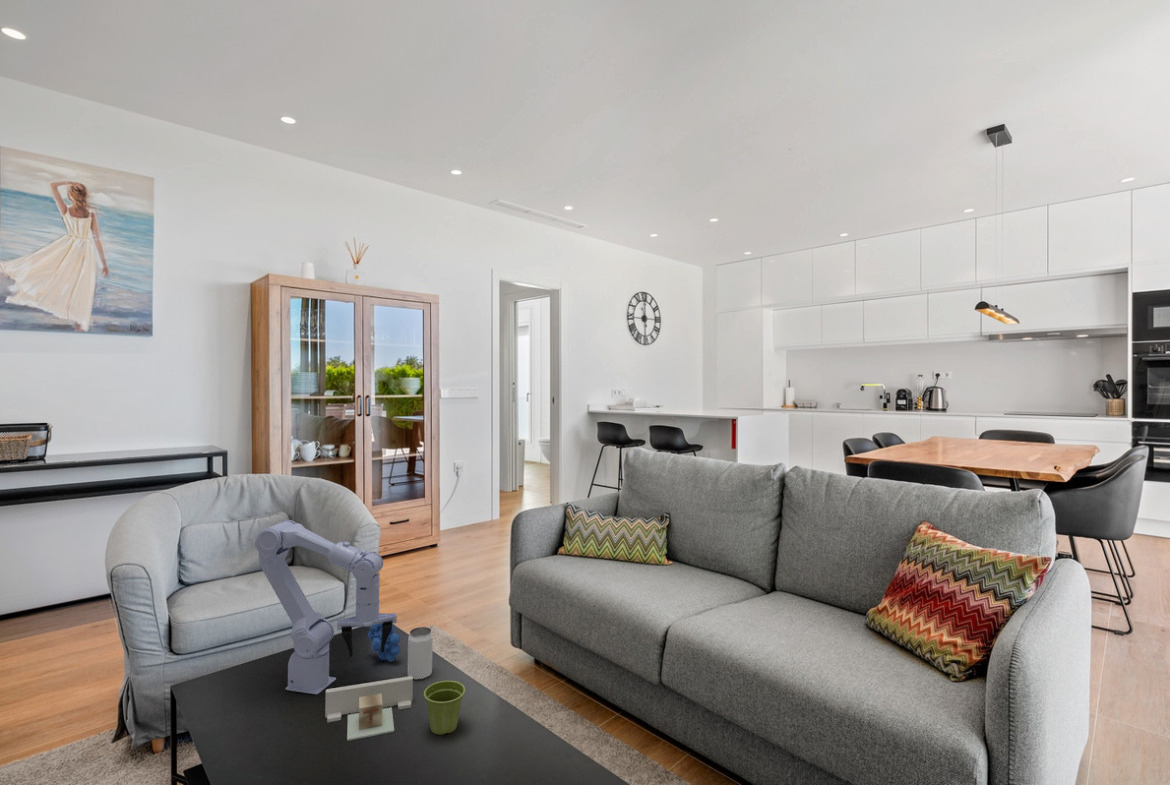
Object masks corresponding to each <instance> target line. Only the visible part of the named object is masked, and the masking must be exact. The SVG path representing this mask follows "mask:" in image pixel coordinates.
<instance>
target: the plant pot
mask: <svg viewBox="0 0 1170 785" xmlns="http://www.w3.org/2000/svg"><path fill="white" fill-rule="evenodd" d="M465 692H466V687H465V686H464V684H462V683H461V682H458V681H455V680H441V681H437V682H434V683H431V684H430V685H428V686H427V687H426V688H425V689H424V691H423V696H424V699H425V700H426V704H427V711H428V720H429V727H430V730H431V732H432V733H433V734H435V735H444V734H451V733H452V732H454V731H455V730H456V729H457V727H458V723H459V716H460V710H461V702H462V700H463V698H464V695H465Z"/></svg>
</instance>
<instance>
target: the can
mask: <svg viewBox="0 0 1170 785" xmlns="http://www.w3.org/2000/svg"><path fill="white" fill-rule="evenodd" d="M407 639H408V640H407V677H408V676H412V677H413V679H414V680H416V681H421V680H424V678H425V679H427V678H428V676H429V677H431V675H432V674H433V673H432V672H433V642H434V641H433V640H434V638H433V633H432V628H430V627H426V626H421V627H420V626H419V627H414V628H412V629H411V630H410V631H409V635H408V637H407ZM426 677H427V678H426ZM418 679H419V680H418ZM420 679H421V680H420ZM414 680H413V681H414Z"/></svg>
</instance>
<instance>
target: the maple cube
mask: <svg viewBox="0 0 1170 785" xmlns="http://www.w3.org/2000/svg"><path fill="white" fill-rule="evenodd" d="M382 709H383V708H382V694H376V695H370V696H363V697H359V712H358V713H359V730H361V729H367V728H372V727H378V726H382Z"/></svg>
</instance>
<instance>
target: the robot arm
mask: <svg viewBox="0 0 1170 785" xmlns="http://www.w3.org/2000/svg"><path fill="white" fill-rule="evenodd" d="M254 546H255V548H256V550H257V552H258V560H259V562H258V563H259V566H260V568H261V570H262V572H263V573H264V576H265V577H266V579H267V581H268V582H269V584H270V586H271V588H272V590H273V591H274V593H275V595H276V597H277V598H278V600H279V602H280V604H281V606H282V607H283V609H284V610H285V612H286V614H287V616H288V618H289V619H290V622H291V623H292V628H291V631H290V638H291V640H292V642H293V650H294V651H293V652H292V653H291V655H290V657H289V660H288V664H287V686H286V687H285V691H289V692H299V693H304V694H312V695H319V694H320V693H321V692H323V691H324V690H326V688H327V687H329V686H331V685H332V684H333V683H334V682H335V681H336V680H337V677H335V676H334V677H333V676H330V641H331V640H332V639H333V638H334V636H335V628H334V626H333V624H332V622H330V621H329V620H327V619H326V618H325V616H324V615H323V613H320V612H317V611H314V609H313V607H312V605H311V604H310V602H309V600H308V598H307V597H306V595H305V593H304V591H303V590H302V588H301V587H300V584H299V582H298V581H297V579H296V577H295V576H294V574H293V572H292V570H291V568H290V566H289V565H288V564H287V561H286V558H287V556H288V553H289V550H290V549H291V548H293V547H298V546H299V547H302V548H304V549H307V550H310V551H313V552H316V553H318V554H321V555H324V556H326V557H327V560H328V562H329V563H330V564H332V565H334V566H336V567H338V568H341V569H343V570H346V571H348V572H350V573H352V577H353V578H354V579H355V581H356V582H355V616H351V617H347V618H343V619H342V618H341V619H337V620H336V621H337V622H336V630H337V631H341V636H342V639H344V641H345V644H346V646H347V650H348V654H349V658H351V657H353V638H352V637H353V628H359V627H370V626H372V625H376V624H382V639H381V652H384V648H385V644H386V641H387V638H388V636H389V634H390V632H391V630H392V624H397V621H398V620H397V618H398V616H397V613H396V612H395V613H394V612H393V613H385V612H384V613H383V612H382V613H380V575H381V574H380V572H381V571H382V569H383V566H384V560H383V557H382V556H381V555H380V554H379V553H377V552H376V551H369V552H367V550H364V549H363V550H361V549H358V548H356V547H355V546H353V545H351V543H350V542H348V541H344V542H343V541H340V542H339V541H338V542H337V543H334V542H332V541H330V540H328V539H326V538H324V537H322V536H320V535H319V534H317V533H315V532H313V531H311V530H309V529H307V528H305V527H304V525H303V524H302V523H297V522H295V521H294V520H291V519H285V520H283V521H281V522H279V523H277V524H274V525H271V526H269V527H266V528H263V529H261V531H260V532H258V535H257V536H256V539H255V542H254Z"/></svg>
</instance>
